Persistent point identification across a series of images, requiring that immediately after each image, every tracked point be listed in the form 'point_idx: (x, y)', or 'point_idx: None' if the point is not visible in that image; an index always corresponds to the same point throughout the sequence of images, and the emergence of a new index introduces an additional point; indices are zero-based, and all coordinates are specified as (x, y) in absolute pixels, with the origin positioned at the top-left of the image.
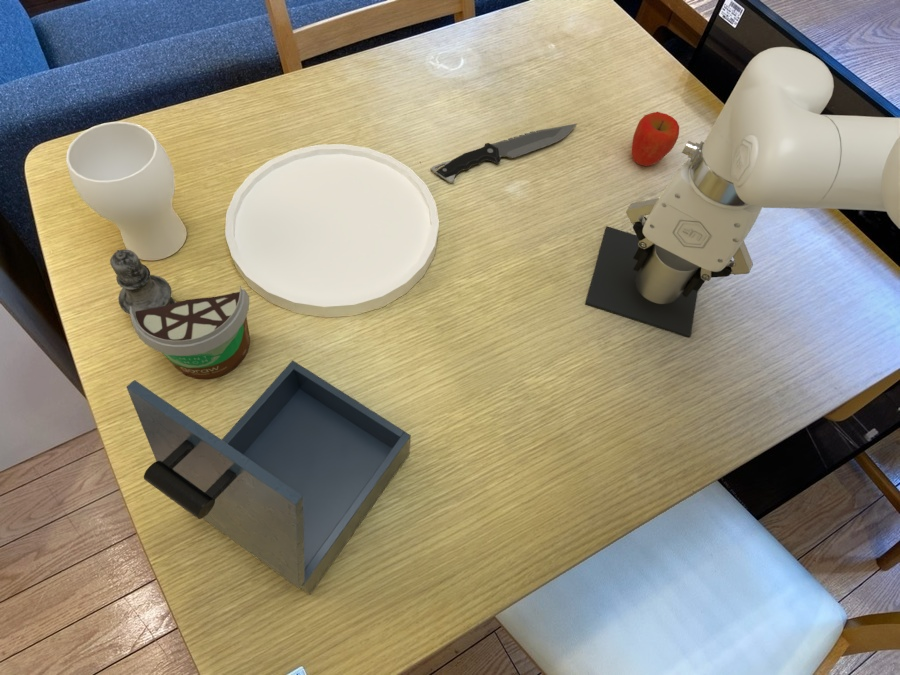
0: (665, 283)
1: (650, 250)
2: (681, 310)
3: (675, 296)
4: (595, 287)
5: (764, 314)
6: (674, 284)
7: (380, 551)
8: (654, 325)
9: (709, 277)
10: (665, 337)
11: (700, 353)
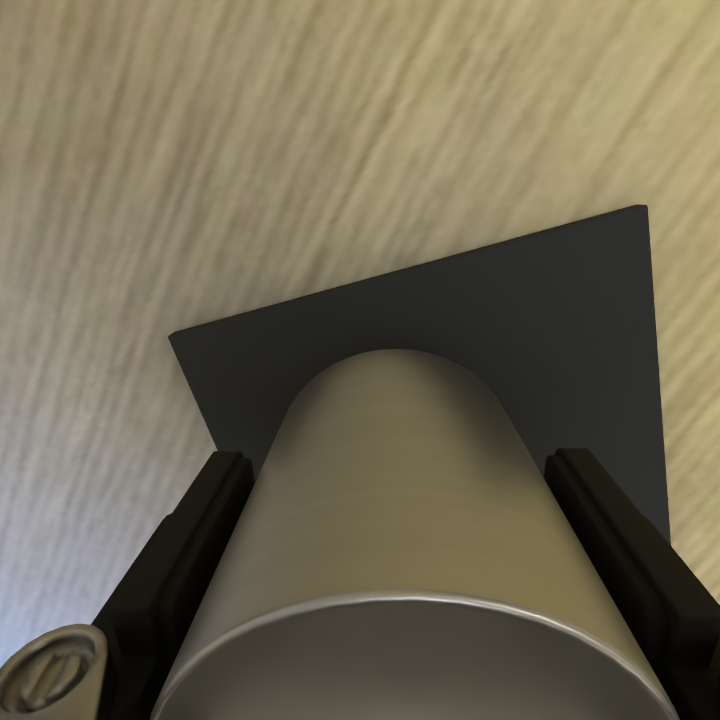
0: (362, 440)
1: (646, 651)
2: (258, 424)
3: (279, 430)
4: (628, 313)
5: (39, 567)
6: (297, 468)
7: None
8: (314, 294)
9: (19, 684)
10: (250, 274)
11: (101, 292)
